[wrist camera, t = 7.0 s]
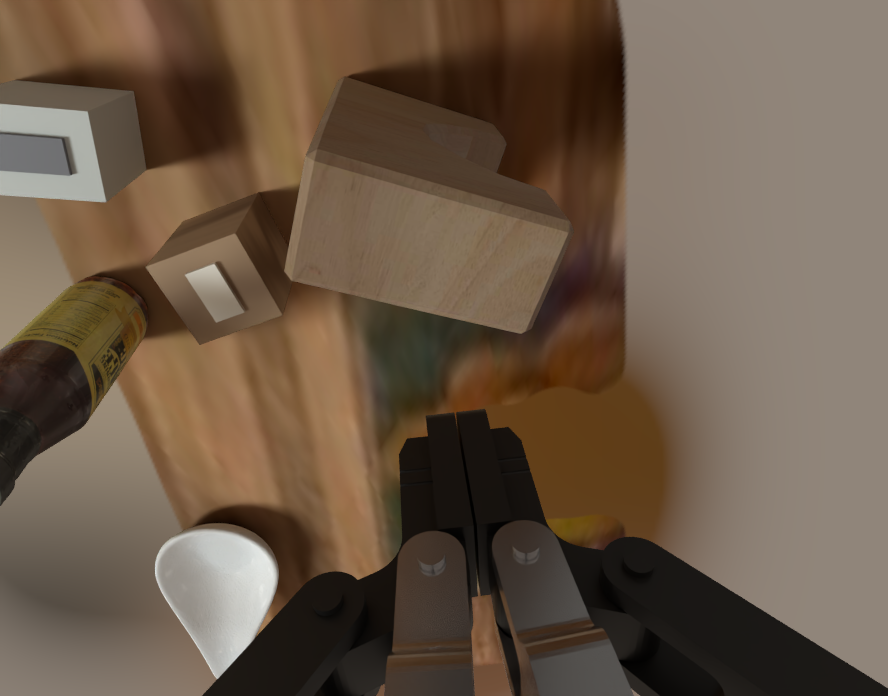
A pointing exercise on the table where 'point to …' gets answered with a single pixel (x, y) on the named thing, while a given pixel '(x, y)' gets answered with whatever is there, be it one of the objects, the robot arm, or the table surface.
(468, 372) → the table surface
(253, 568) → the spoon rest
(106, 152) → the grey marked block
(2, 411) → the sauce bottle
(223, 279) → the walnut marked block
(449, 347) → the table surface
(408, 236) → the decorative block
